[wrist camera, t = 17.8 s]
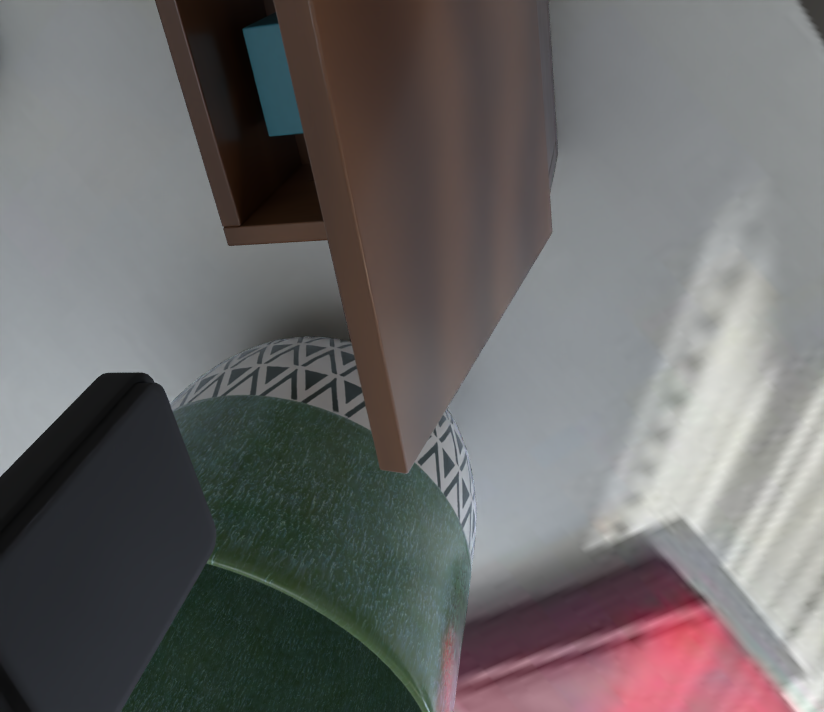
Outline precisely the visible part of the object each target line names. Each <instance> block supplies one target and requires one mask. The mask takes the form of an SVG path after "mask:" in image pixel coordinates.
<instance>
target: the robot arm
mask: <svg viewBox="0 0 824 712" xmlns="http://www.w3.org/2000/svg"><path fill="white" fill-rule="evenodd" d="M215 543H216V527H215V524H214V521H213V518H212V516H211V513H210V510H209V508H208V505H207V502H206V499H205V497H204V494H203V491H202V489H201V486H200V483H199V481H198V478H197V475H196V473H195V470H194V467H193V465H192V462H191V459H190V457H189V454H188V451H187V449H186V446H185V443H184V441H183V438H182V435H181V433H180V430H179V427H178V425H177V422H176V419H175V416H174V414H173V411H172V408H171V406H170V403H169V400H168V398H167V395H166V393H165V391H164V389H163V387H162V386H161V385H160V384H157V383H154V381H153V379H152V378H151V377H150V376H149V375H148V374H145V373H105V374H102V375H101V376H99V377H98V378H97V379H96V380H95V381H94V382H93V383H92V384H91V385H90V386H89V387H88V388H87V389H86V390H85V391H84V392H83V393H82V394H81V395H80V396H79V397H78V398H77V399H76V400H75V401H74V402H73V403H72V404H71V405H70V406H69V407H68V408H67V409H66V410H65V411H64V413H63V414H62V415H61V416H60V417H59V418H58V419H57V420H56V421H55V422H54V423H53V424H52V425H51V426H50V427H49V428H48V429H47V430H46V431H45V432H44V433H43V434H42V435H41V436H40V437H39V438H38V439H37V440H36V441H35V442H34V443H33V444H32V445H31V446H30V447H29V448H28V449H27V450H26V451H25V452H24V453H23V454H22V455H21V456H20V457H19V458H18V459H17V460H16V461H15V462H14V464H13V465H12V466H11V467H10V468H9V469H8V470H7V471H6V472H5V473H4V474H3V475H2V476H1V477H0V712H121V710H122V709H123V707H124V705H125V703H126V702H127V700H128V698H129V697H130V695H131V693H132V691H133V690H134V688H135V686H136V684H137V683H138V681H139V679H140V677H141V676H142V674H143V672H144V670H145V669H146V667H147V665H148V664H149V662H150V660H151V658H152V657H153V655H154V653H155V651H156V650H157V648H158V646H159V644H160V643H161V641H162V639H163V637H164V636H165V634H166V632H167V631H168V629H169V627H170V625H171V624H172V622H173V620H174V618H175V617H176V615H177V613H178V611H179V610H180V608H181V606H182V604H183V603H184V601H185V599H186V598H187V596H188V594H189V592H190V591H191V589H192V587H193V585H194V584H195V582H196V580H197V578H198V577H199V575H200V573H201V571H202V570H203V568H204V566H205V565H206V563H207V561H208V559H209V558H210V556H211V554H212V552H213V550H214V547H215Z"/></svg>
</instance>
